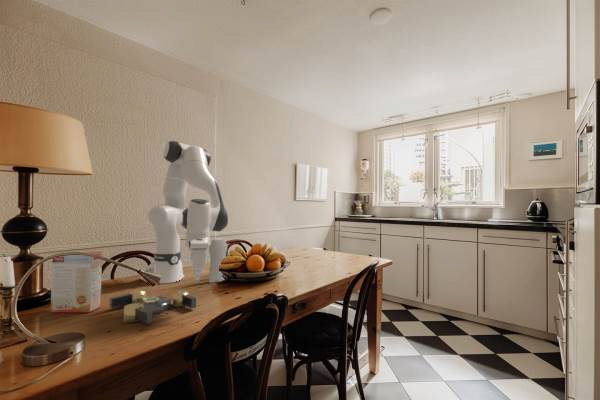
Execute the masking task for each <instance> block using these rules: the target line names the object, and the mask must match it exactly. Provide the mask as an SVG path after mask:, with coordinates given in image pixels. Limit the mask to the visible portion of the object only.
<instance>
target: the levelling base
mask: <svg viewBox="0 0 600 400" xmlns="http://www.w3.org/2000/svg"><path fill="white" fill-rule="evenodd" d="M133 303H142V304H143V308H145V309H148V310H151V311H153V316H154V315H157V314H162V313H165V312H166V311H168V310H170V309H171V307H172V304H171V303H172V299H171V298H170V297H168V296H162V295H159V296H156V295H149V296H146V298H143V299H140V300H137V301H135V302H133ZM133 303H132V304H133Z"/></svg>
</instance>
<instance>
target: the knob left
mask: <svg viewBox="0 0 600 400" xmlns="http://www.w3.org/2000/svg"><path fill="white" fill-rule="evenodd" d="M172 307H175V308H182V307H187V308H189V309H195V308H197V297H195V296H193V295H190V293H189V291H188V290H178V291H175V292H173V293H172Z"/></svg>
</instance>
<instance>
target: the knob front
mask: <svg viewBox="0 0 600 400" xmlns="http://www.w3.org/2000/svg"><path fill="white" fill-rule="evenodd" d="M153 316H154V315H153V311H151V310H148V309H145V308H143V304H142V303H133V304H127V305H123V322H124V323H125V324H126V323H127V324H128V323H129V324H130V323H135V322H136V323H137V322H141V323H143V324H146V325H148V324H151V323H153Z"/></svg>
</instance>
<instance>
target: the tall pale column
mask: <svg viewBox="0 0 600 400" xmlns="http://www.w3.org/2000/svg"><path fill="white" fill-rule="evenodd" d="M226 242H227V241H226V238H222V237H221V238H220V237H217V238H213V239H211V241H210V245H209V248H208V252H209V254H210V255H209V259H210V261H209V265H210V266H209V271H208V273H209V274H208V278H209V279H208V284H213V283H220V282H223V281H226V280H225V279H224V278H223V277H222V276H221V274H220V273H219V266H220V264H221V261H222V259H224V258H226V259H227V252H228V244H227V243H226Z"/></svg>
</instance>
